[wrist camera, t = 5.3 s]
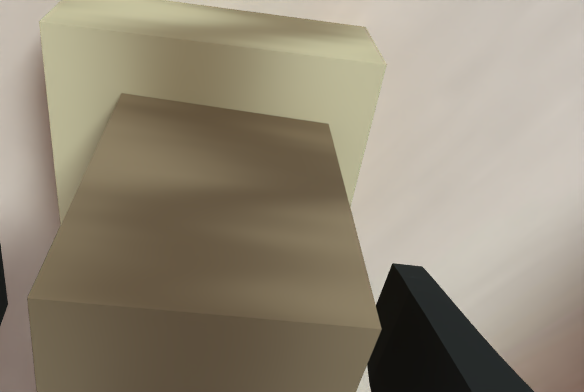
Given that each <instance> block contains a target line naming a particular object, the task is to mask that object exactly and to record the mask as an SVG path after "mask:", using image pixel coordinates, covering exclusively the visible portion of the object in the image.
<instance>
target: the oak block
mask: <svg viewBox="0 0 584 392" xmlns="http://www.w3.org/2000/svg"><path fill="white" fill-rule="evenodd" d="M39 25H40V35H41V44H42V54H43V64H44V73H45V83H46V92H47V102H48V111H49V121H50V130H51V140H52V149H53V159H54V168H55V178H56V187H57V197H58V207H59V216H60V226H61V224H62V222H63V219H64V217H65V215H66V213H67V211H68V208H69V206H70V204H71V202H72V200H73V198H74V195H75V193H76V191H77V189H78V187H79V185H80V182H81V180H82V178H83V176H84V174H85V172H86V169H87V167H88V165H89V163H90V161H91V158H92V156H93V154H94V152H95V150H96V148H97V145H98V143H99V141H100V139H101V137H102V135H103V132H104V130H105V128H106V126H107V124H108V122H109V119H110V117H111V115H112V113H113V111H114V108H115V106H116V104H117V102H118V100H119V98H120V95H121V93H125V94H132V95H138V96H145V97H152V98H159V99H165V100H172V101H179V102H186V103H192V104H199V105H206V106H212V107H219V108H226V109H233V110H239V111H246V112H253V113H260V114H266V115H273V116H280V117H287V118H293V119H300V120H307V121H314V122H320V123H327V124H329V127H330V131H331V135H332V139H333V143H334V147H335V150H336V154H337V158H338V162H339V166H340V170H341V174H342V178H343V181H344V185H345V189H346V193H347V197H348V201H349V205H350V206H351V202H352V198H353V194H354V191H355V187H356V183H357V179H358V175H359V171H360V167H361V163H362V159H363V155H364V151H365V147H366V144H367V140H368V136H369V132H370V128H371V124H372V120H373V116H374V112H375V108H376V104H377V100H378V97H379V93H380V89H381V85H382V81H383V77H384V73H385V69H386V65H387V64H386V63H385V61H384V59H383V57H382V56H381V54H380V52H379V50H378V48H377V47H376V45H375V43H374V41H373V40H372V38H371V36H370V34H369V33H368V31H367V29H366V27H361V26H354V25H346V24H339V23H331V22H324V21H316V20H309V19H301V18H294V17H286V16H279V15H271V14H264V13H256V12H249V11H241V10H234V9H226V8H219V7H211V6H204V5H196V4H189V3H181V2H173V1H166V0H61V1H60V2H59V3H58V4H57V5H56V6H55V7H54V8H53V9H52V10H51V11H50V12H49V13H48V14H46V15H45V16H44V17H43V18H42V19H41V20H40V21H39Z"/></svg>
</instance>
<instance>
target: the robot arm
mask: <svg viewBox="0 0 584 392" xmlns="http://www.w3.org/2000/svg"><path fill="white" fill-rule="evenodd" d="M7 305H8V301H7V293H6V285H5V277H4V269H3V261H2V253H1V245H0V325H1V322H2V320H3V317H4V314H5V311H6V308H7ZM376 309H377V313H378V317H379V321H380V325H381V329H382V330H381V332H380V334H379V337H378V339H377V342H376V344H375V347H374V349H373V351H372V354H371V356H370V359H369V361H368V364H367V366H368V375H369V383H370V388H371V392H534V391H533V390H532V389H531V388H530V387H529V386H528V385H527V384H526V383H525V382H524V381H523V380H522V379H521V378H520V377H519V376H518V375H517V374H516V373H515V371H514V370H513V369H512V368H511V367H510V366H509V365H508V364H507V363H506V362H505V361H504V360H503V359H502V357H501V356H500V355H499V354H498V353H497V352H496V351H495V350H494V349H493V348H492V346H491V345H490V344H489V343H488V342H487V341H486V340H485V339H484V337H483V336H482V335H481V334H480V333H479V332H478V331H477V329H476V328H475V327H474V326H473V325H472V324H471V323H470V321H469V320H468V319H467V318H466V317H465V316H464V314H463V313H462V312H461V311H460V310H459V308H458V307H457V306H456V305H455V304H454V303H453V301H452V300H451V299H450V298H449V297H448V296H447V294H446V293H445V292H444V291H443V290H442V288H441V287H440V286H439V285H438V284H437V283H436V281H435V280H434V279H433V278H432V277H431V276H430V275H429V273H428V272H427V271H426V270H425V269H424V268H423V267H421V266H412V265H403V264H394V263H393V264H392V266H391V269H390V271H389V274H388V276H387V279H386V281H385V284H384V287H383V289H382V292H381V294H380V297H379V299H378V302H377V304H376Z"/></svg>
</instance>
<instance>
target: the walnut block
mask: <svg viewBox="0 0 584 392" xmlns="http://www.w3.org/2000/svg"><path fill="white" fill-rule="evenodd" d="M27 301H28V311H29V321H30V330H31V340H32V350H33V360H34V370H35V380H36V390H37V392H356V390H357V388H358V385H359V383H360V381H361V378H362V376H363V373H364V371H365V368H366V366H367V364H368V361H369V359H370V356H371V354H372V351H373V349H374V347H375V344H376V342H377V339H378V337H379V334H380V332H381V330H382V329H381V325H380V321H379V317H378V313H377V309H376V305H375V301H374V298H373V294H372V290H371V286H370V282H369V278H368V274H367V270H366V267H365V263H364V259H363V255H362V251H361V247H360V243H359V239H358V236H357V232H356V228H355V224H354V220H353V216H352V212H351V209H350V205H349V201H348V197H347V193H346V189H345V185H344V181H343V178H342V174H341V170H340V166H339V162H338V158H337V154H336V150H335V147H334V143H333V139H332V135H331V131H330V127H329V124H327V123H320V122H314V121H307V120H300V119H293V118H287V117H280V116H273V115H266V114H260V113H253V112H246V111H239V110H233V109H226V108H219V107H212V106H206V105H199V104H192V103H186V102H179V101H172V100H165V99H159V98H152V97H145V96H138V95H132V94H125V93H121V95H120V98H119V100H118V102H117V104H116V106H115V108H114V111H113V113H112V115H111V117H110V119H109V122H108V124H107V126H106V128H105V130H104V132H103V135H102V137H101V139H100V141H99V143H98V145H97V148H96V150H95V152H94V154H93V156H92V158H91V161H90V163H89V165H88V167H87V169H86V172H85V174H84V176H83V178H82V180H81V182H80V185H79V187H78V189H77V191H76V193H75V195H74V198H73V200H72V202H71V204H70V206H69V208H68V211H67V213H66V215H65V217H64V219H63V222H62V224H61V226H60V228H59V230H58V232H57V235H56V237H55V239H54V241H53V243H52V245H51V248H50V250H49V252H48V254H47V256H46V258H45V261H44V263H43V265H42V267H41V269H40V272H39V274H38V276H37V278H36V280H35V282H34V285H33V287H32V289H31V291H30V293H29V295H28V298H27Z"/></svg>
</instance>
